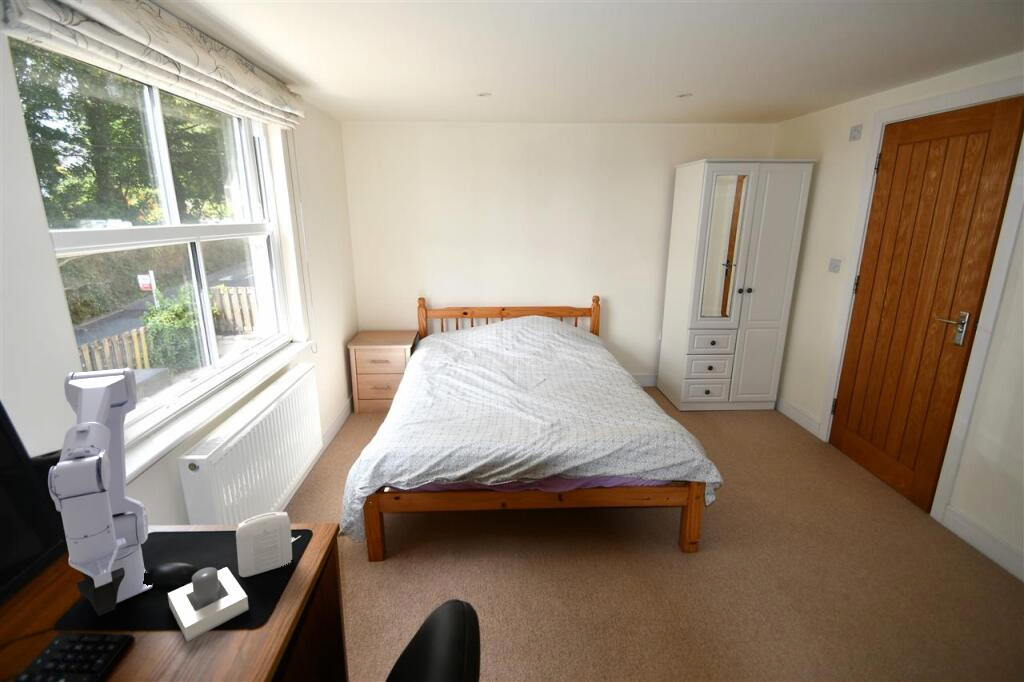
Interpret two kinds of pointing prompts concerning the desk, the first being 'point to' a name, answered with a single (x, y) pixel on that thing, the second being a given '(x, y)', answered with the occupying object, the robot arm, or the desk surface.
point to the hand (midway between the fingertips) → (102, 598)
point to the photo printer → (263, 543)
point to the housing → (212, 614)
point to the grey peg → (205, 587)
